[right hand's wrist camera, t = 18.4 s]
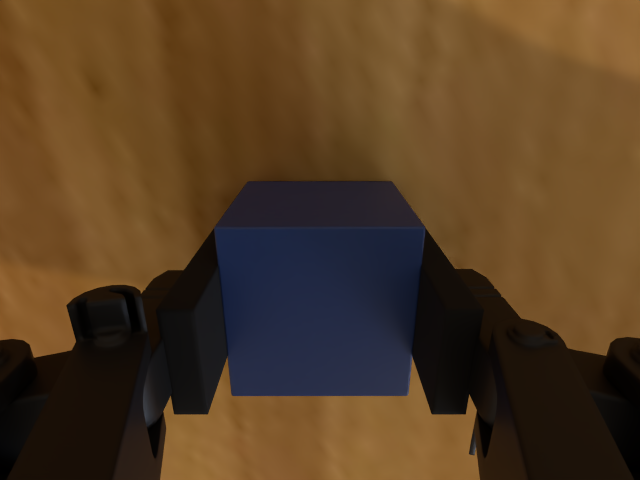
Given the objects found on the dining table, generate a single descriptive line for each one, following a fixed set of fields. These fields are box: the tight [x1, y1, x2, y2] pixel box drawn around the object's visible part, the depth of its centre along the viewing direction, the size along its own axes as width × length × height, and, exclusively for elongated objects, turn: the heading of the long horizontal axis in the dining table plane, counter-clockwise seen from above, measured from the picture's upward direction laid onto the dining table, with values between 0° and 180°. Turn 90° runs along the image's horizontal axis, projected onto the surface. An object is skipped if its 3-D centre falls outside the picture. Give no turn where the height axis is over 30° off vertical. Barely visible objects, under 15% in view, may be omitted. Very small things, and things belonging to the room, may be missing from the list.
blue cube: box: [214, 181, 426, 396], centre depth 13 cm, size 5×5×5 cm
